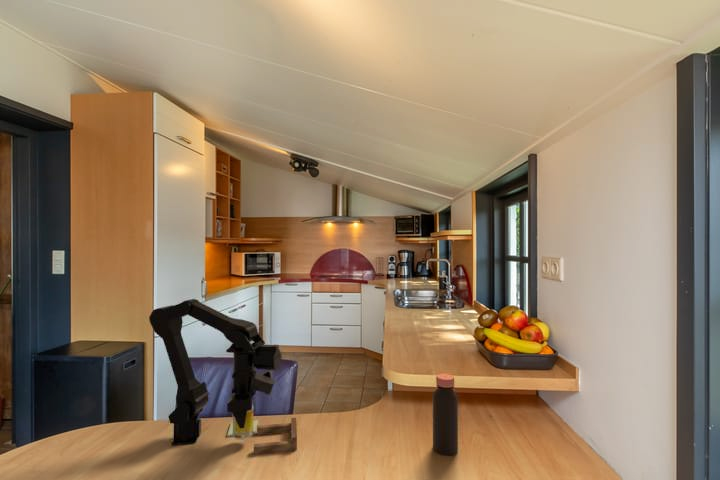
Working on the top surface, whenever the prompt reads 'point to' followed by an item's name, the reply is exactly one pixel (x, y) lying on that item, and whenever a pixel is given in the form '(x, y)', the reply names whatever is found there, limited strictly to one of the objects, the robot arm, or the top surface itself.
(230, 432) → the coaster
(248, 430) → the supplement bottle
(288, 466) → the top surface
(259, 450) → the frame
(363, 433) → the top surface
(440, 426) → the black water bottle
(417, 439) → the top surface
